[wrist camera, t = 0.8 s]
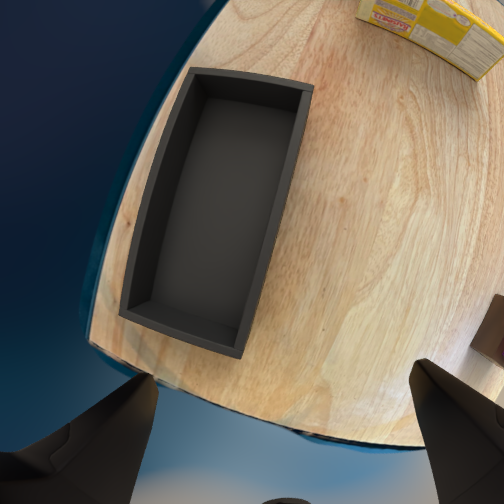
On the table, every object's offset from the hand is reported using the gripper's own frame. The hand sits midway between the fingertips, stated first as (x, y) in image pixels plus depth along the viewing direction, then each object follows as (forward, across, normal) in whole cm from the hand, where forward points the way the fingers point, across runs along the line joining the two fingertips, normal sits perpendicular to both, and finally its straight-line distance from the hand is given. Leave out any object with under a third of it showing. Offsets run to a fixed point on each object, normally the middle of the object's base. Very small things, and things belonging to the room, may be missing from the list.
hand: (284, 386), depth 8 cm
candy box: (+21, -18, -21) cm, 35 cm away
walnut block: (+11, -23, +10) cm, 28 cm away
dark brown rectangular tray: (+15, +4, -3) cm, 16 cm away
